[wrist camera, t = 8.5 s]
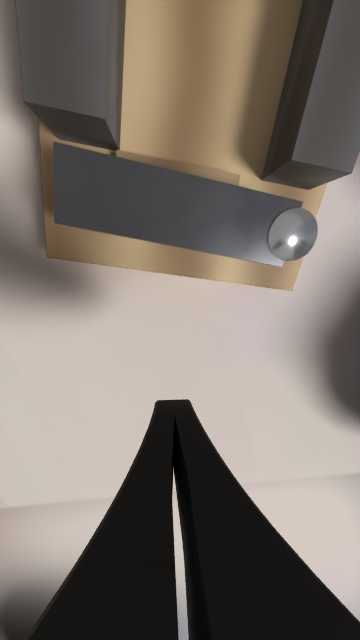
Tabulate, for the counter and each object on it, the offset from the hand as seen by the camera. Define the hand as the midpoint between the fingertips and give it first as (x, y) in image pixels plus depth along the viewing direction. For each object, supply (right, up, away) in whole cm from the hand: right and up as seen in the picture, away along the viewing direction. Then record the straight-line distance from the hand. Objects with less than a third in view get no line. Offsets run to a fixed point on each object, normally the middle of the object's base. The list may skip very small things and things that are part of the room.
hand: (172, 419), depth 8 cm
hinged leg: (+1, +10, +4) cm, 11 cm away
